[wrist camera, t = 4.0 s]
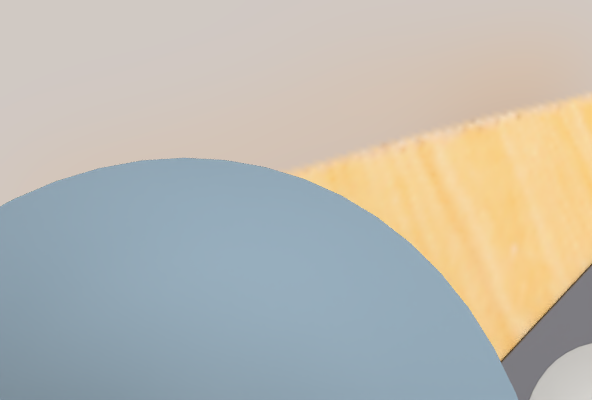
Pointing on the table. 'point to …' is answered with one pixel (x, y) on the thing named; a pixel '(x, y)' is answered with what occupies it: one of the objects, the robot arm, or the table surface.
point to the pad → (557, 350)
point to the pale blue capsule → (224, 294)
